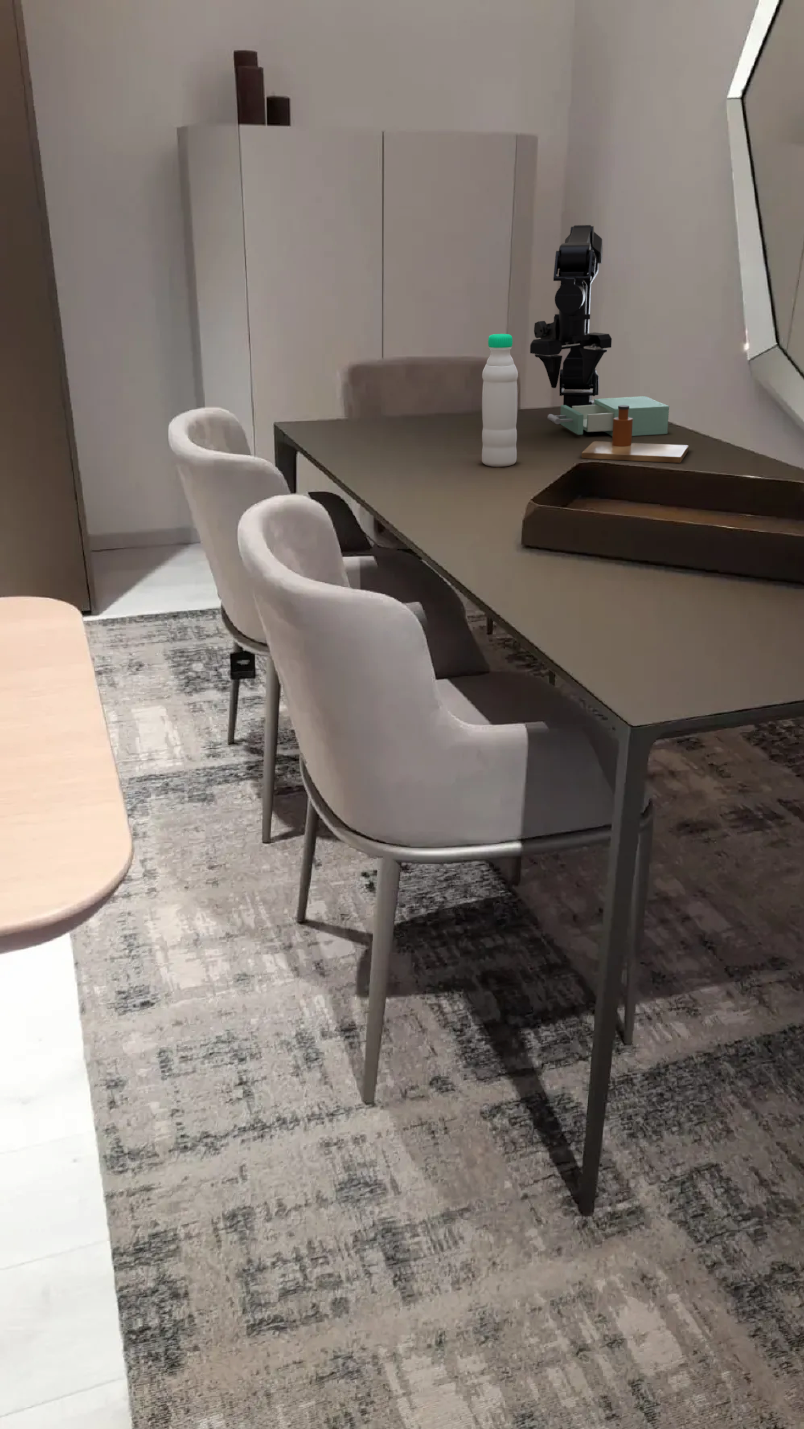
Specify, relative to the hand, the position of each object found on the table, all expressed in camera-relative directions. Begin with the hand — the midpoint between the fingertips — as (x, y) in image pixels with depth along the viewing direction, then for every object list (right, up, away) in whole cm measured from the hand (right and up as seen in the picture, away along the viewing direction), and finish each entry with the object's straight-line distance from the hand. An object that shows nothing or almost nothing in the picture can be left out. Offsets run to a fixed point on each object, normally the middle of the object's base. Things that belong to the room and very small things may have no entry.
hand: (569, 385), depth 238 cm
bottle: (+10, -14, -6) cm, 19 cm away
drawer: (+5, -6, +13) cm, 15 cm away
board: (+12, -17, -10) cm, 23 cm away
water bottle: (-17, -20, -14) cm, 30 cm away
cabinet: (+16, -6, +15) cm, 23 cm away
